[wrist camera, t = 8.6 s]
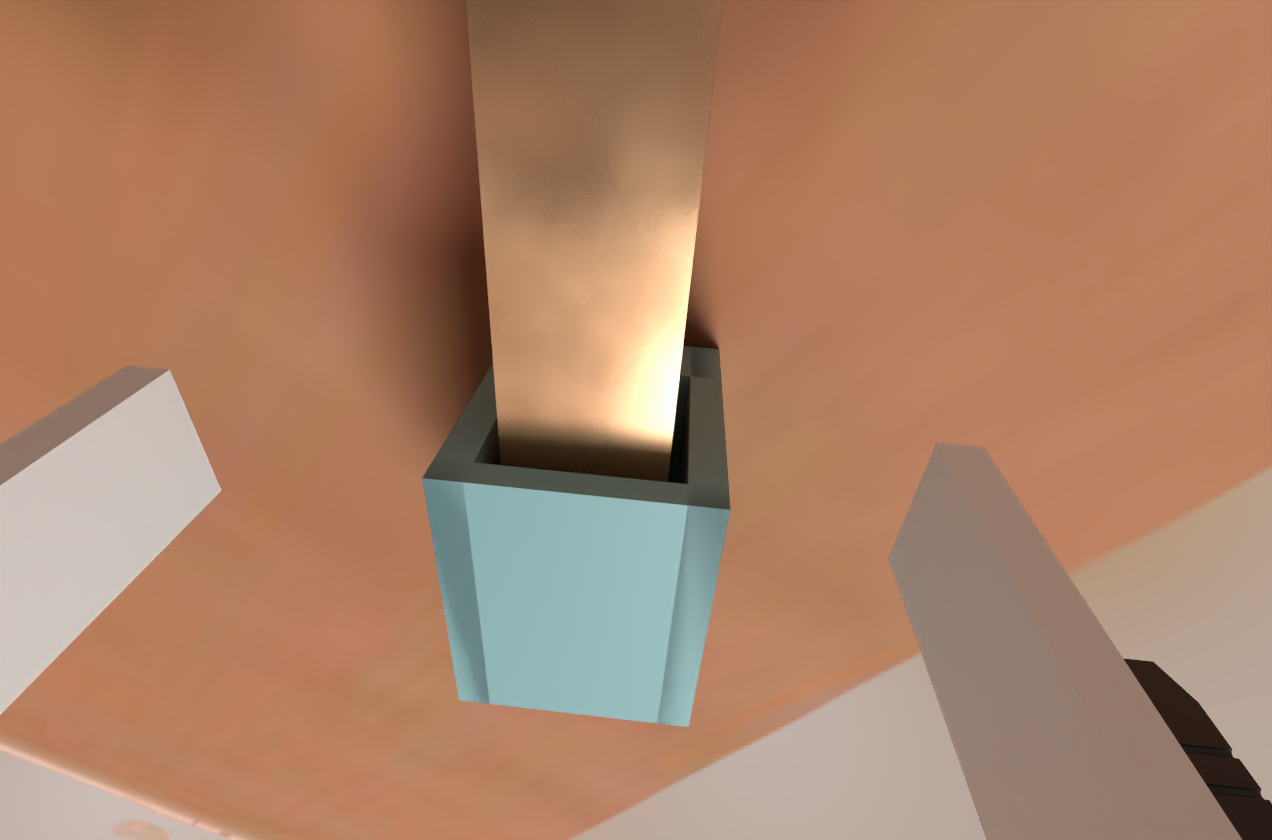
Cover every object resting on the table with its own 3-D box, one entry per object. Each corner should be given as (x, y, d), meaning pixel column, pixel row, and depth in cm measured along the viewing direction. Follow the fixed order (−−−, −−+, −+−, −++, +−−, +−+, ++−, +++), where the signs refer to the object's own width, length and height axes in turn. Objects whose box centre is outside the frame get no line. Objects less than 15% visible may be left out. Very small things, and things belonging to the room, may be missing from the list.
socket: (513, 330, 22) (422, 478, 15) (719, 349, 22) (730, 509, 14) (523, 519, 27) (458, 700, 20) (690, 536, 26) (688, 726, 19)
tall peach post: (506, -624, 10) (388, -1028, 6) (783, -616, 9) (840, -1027, 6) (542, 546, 24) (514, 642, 20) (655, 558, 23) (647, 656, 20)
